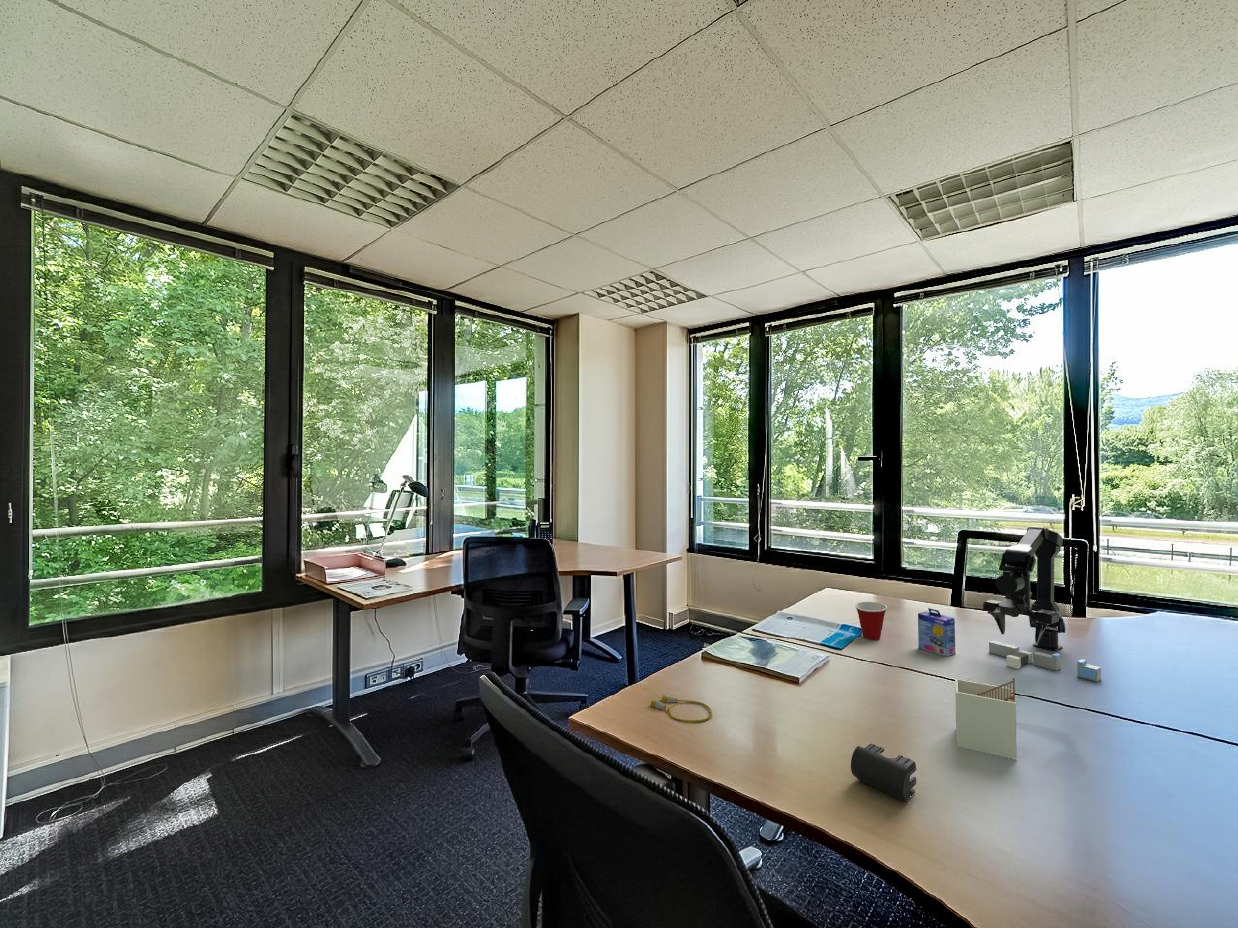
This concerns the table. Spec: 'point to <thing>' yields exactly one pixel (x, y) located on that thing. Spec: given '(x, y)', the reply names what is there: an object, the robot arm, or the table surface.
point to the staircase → (986, 718)
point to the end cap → (884, 771)
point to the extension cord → (673, 700)
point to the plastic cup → (871, 618)
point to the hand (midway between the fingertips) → (1019, 638)
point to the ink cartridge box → (936, 633)
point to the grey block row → (1047, 660)
